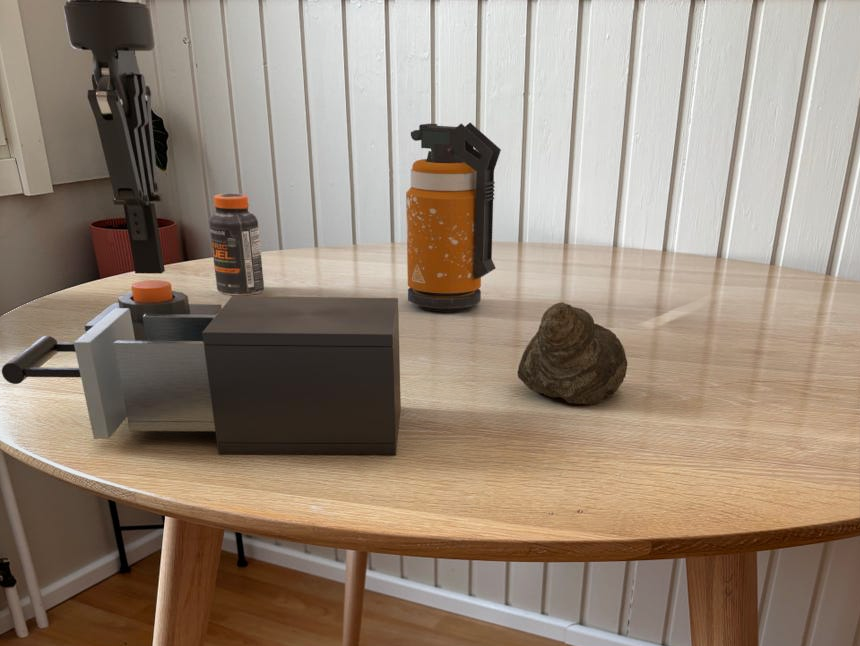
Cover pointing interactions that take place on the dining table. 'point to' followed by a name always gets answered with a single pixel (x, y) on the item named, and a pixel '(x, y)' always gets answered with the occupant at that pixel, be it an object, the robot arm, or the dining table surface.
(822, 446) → the dining table surface
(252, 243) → the pill bottle
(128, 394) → the dispenser drawer
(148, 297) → the button
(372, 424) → the drawer cabinet
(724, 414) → the dining table surface
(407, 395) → the dining table surface
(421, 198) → the canister
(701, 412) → the dining table surface
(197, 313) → the control block
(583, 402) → the seashell
